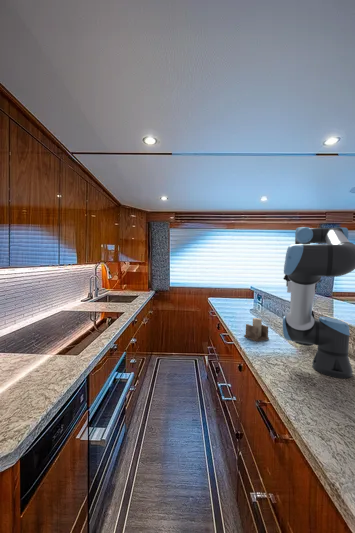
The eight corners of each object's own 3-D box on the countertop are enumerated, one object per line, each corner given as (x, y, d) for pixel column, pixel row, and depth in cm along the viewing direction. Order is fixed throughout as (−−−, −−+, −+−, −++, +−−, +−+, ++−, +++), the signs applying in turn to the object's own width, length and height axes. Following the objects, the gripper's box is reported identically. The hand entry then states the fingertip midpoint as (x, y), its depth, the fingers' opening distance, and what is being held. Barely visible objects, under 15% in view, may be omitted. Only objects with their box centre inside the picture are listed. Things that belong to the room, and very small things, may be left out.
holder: (268, 339, 146) (269, 326, 146) (256, 341, 141) (256, 328, 141) (256, 334, 155) (257, 322, 155) (244, 336, 150) (244, 324, 150)
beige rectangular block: (263, 336, 147) (263, 319, 147) (256, 338, 144) (257, 320, 144) (256, 334, 152) (256, 317, 151) (250, 335, 149) (250, 318, 149)
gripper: (329, 255, 119) (327, 297, 119) (286, 256, 141) (284, 291, 141) (321, 255, 115) (319, 297, 115) (278, 255, 137) (276, 291, 137)
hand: (300, 294), depth 128 cm, fingers open, 13 cm apart
